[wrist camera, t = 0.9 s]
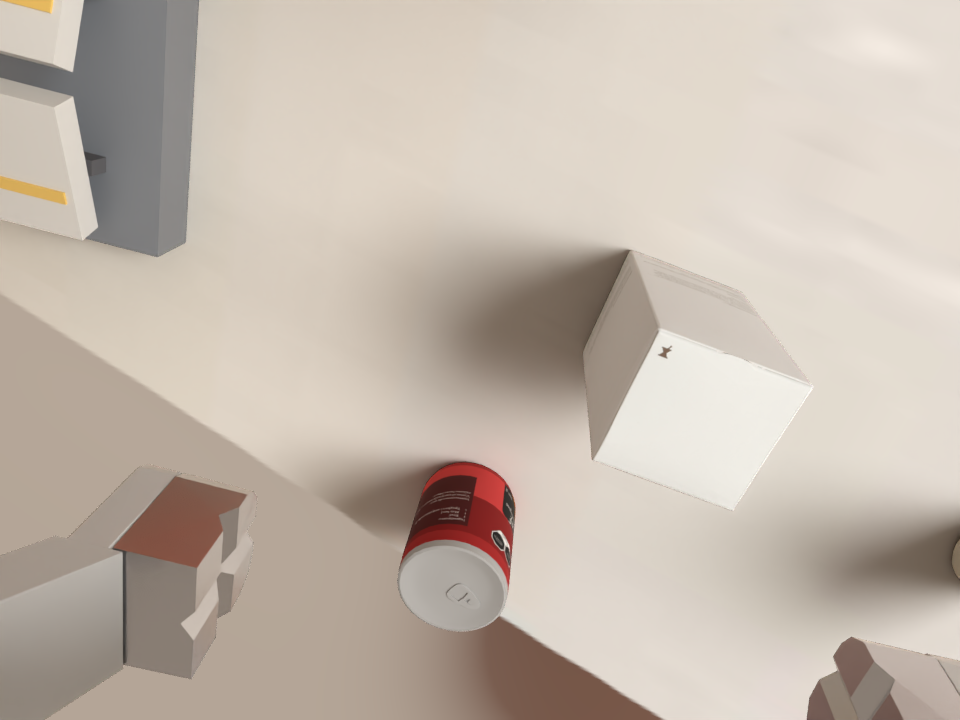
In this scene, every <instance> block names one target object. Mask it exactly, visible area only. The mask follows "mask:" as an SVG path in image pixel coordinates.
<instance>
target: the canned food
mask: <svg viewBox="0 0 960 720" xmlns="http://www.w3.org/2000/svg"><path fill="white" fill-rule="evenodd" d="M514 522H515V502H514V497H513V495H512V493H511V490H510V488H509V486H508V485H507V483H506V482H505V481H504V479H503V478H502V477H501V476H499V475H498V474H497V473H496V472H494V471H493V470H491V469H489V468H487V467H485V466H483V465H479V464H475V463H467V462H461V463H454V464H450V465H447V466H445V467H443V468H441V469H440V470H439V471H437V472H436V473H435V474H434V475H433V476H432V477H431V478H430V479H429V480H428V482H427V483H426V485H425V487H424V490H423V493H422V496H421V499H420V502H419V505H418V509H417V512H416V515H415V518H414V521H413V524H412V528H411V531H410V534H409V537H408V540H407V543H406V547H405V550H404V553H403V556H402V561H401V564H400V567H399V573H398V580H397V581H398V590H399V593H400V596H401V598H402V600H403V602H404V603H405V605H406V606H407V607H408V609H409V610H410V611H411V612H412V613H413V614H415V615H416V616H417V617H418V618H419V619H421V620H423V621H424V622H426V623H428V624H430V625H432V626H435V627H437V628H440V629H445V630H449V631H458V632H459V631H471V630H476V629H479V628H482V627H484V626H487V625H488V624H490V623H491V622H493V621H494V620H495V619H496V618H497V617H498V616H499V615H500V614H501V612H502V610H503V609H504V606H505V603H506V599H507V595H508V587H509V579H510V568H511V556H512V545H513V533H514Z"/></svg>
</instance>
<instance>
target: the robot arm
mask: <svg viewBox="0 0 960 720" xmlns="http://www.w3.org/2000/svg"><path fill="white" fill-rule="evenodd" d="M256 508H257V496H256V494H255V492H254V491H251V490H247V489H243V488H239V487H236V486H231V485H228V484H224V483H220V482H217V481H213V480H209V479H206V478H202V477H198V476H194V475H190V474H187V473H180V472H177V471H174V470H169V469H165V468H162V467H158V466H154V465H151V464H146V465H143V466H140V467H138V468H137V469H136V470H135V471H134V472H133V473H132V474H131V475H130V476H129V477H128V478H127V479H126V480H125V481H124V482H123V483H122V484H121V485H120V486H119V487H118V488H117V489H116V490H115V491H114V492H113V493H112V494H111V495H110V496H109V497H108V498H107V499H106V500H105V501H104V502H103V503H102V504H101V505H100V506H99V507H98V508H97V509H96V510H95V511H94V512H93V513H92V514H91V515H90V516H89V517H88V518H87V519H86V520H85V521H84V522H83V523H82V524H81V525H80V526H79V527H78V528H77V529H76V530H75V531H74V532H73V533H72V534H71V535H70V536H69V537H68V538H63V537H59V536H53V537H50V538H48V539H45V540H42V541H40V542H36V543H34V544H31V545H28V546H25V547H22V548H20V549H17V550H14V551H11V552H9V553H6V554H3V555H0V720H45V719H47V718H48V717H50V716H51V715H52V714H54V713H56V712H57V711H59V710H60V709H62V708H63V707H65V706H66V705H68V704H69V703H71V702H73V701H74V700H76V699H77V698H79V697H80V696H82V695H84V694H85V693H87V692H88V691H90V690H91V689H93V688H94V687H96V686H97V685H99V684H100V683H102V682H104V681H105V680H106V679H108V678H110V677H111V676H113V675H114V674H116V673H117V672H119V671H120V670H122V669H123V665H127V666H132V667H136V668H141V669H146V670H150V671H155V672H160V673H165V674H169V675H174V676H179V677H183V678H188V679H192V677H193V675H194V674H195V672H196V670H197V668H198V667H199V665H200V663H201V661H202V660H203V658H204V656H205V655H206V653H207V651H208V649H209V648H210V646H211V644H212V643H213V641H214V639H215V638H216V626H217V618H219V617H221V616H222V615H225V614H226V613H228V612H230V611H231V610H232V608H233V606H234V604H235V602H236V601H237V599H238V597H239V595H240V593H241V590H242V588H243V585H244V582H245V580H246V577H247V575H248V572H249V567H250V563H251V558H252V552H253V541H252V539H251V538H250V536H249V534H248V533H247V530H248V528H249V527H250V525H251V524H252V522H253V520H254V519H255V517H256ZM833 658H834V661H835V665H836V668H837V671H836V672H834V673H832V674H830V675H828V676H826V677H824V678H822V679H820V680H819V681H818V683H817V685H816V686H815V688H814V690H813V692H812V694H811V696H810V698H809V705H808V713H807V720H960V661H958V660H954V659H949V658H945V657H940V656H936V655H931V654H922V653H918V652H914V651H910V650H906V649H901V648H897V647H893V646H889V645H884V644H880V643H876V642H872V641H867V640H863V639H859V638H855V637H850V638H849V639H847V640H846V641H844V642H843V643H841V645H840V646H839V648H838V650H837V651H836V653H835V654H834V656H833Z"/></svg>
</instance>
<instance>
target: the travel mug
mask: <svg viewBox="0 0 960 720" xmlns="http://www.w3.org/2000/svg"><path fill="white" fill-rule="evenodd" d="M952 566H953V569H954V572H955V574H956V575H957V577H958V578H959V579H960V539H959V541H958V542H957V544H956V546H955V548H954V551H953V555H952Z"/></svg>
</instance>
